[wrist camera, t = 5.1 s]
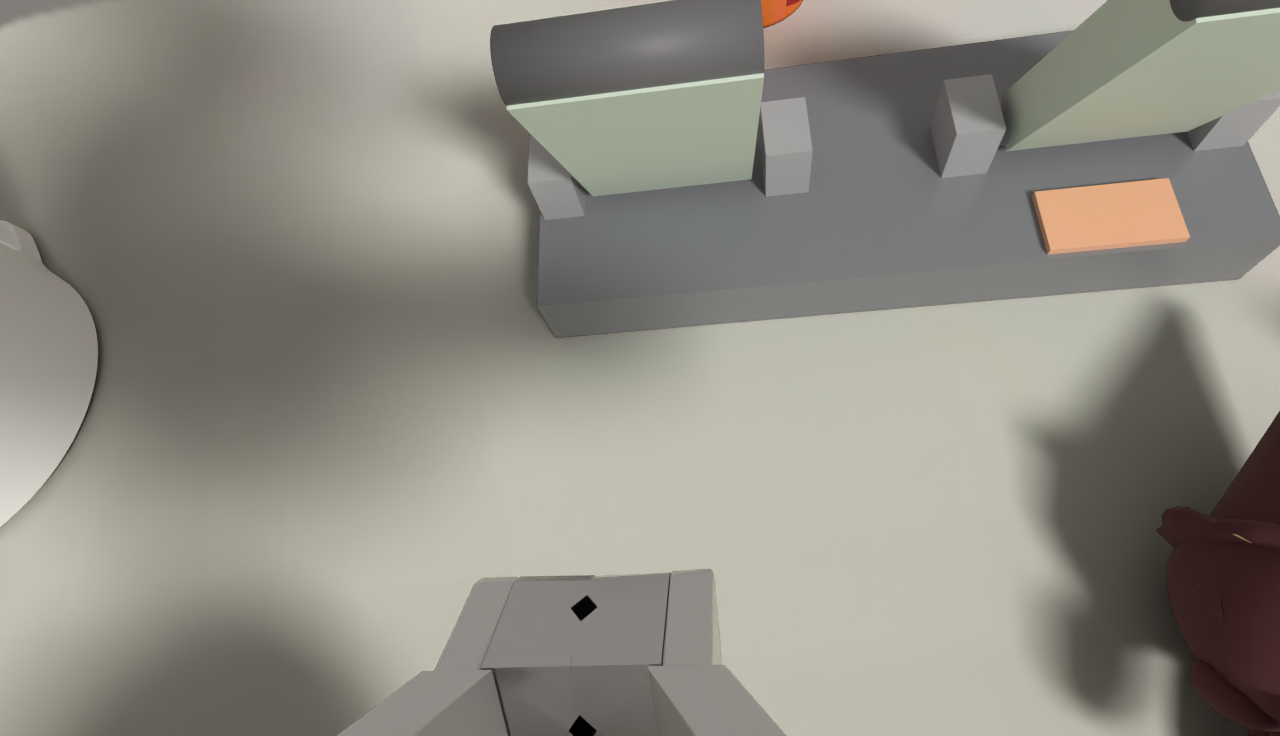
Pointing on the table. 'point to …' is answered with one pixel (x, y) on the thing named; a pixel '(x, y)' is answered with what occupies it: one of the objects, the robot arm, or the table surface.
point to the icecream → (1233, 591)
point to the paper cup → (777, 10)
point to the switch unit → (903, 205)
